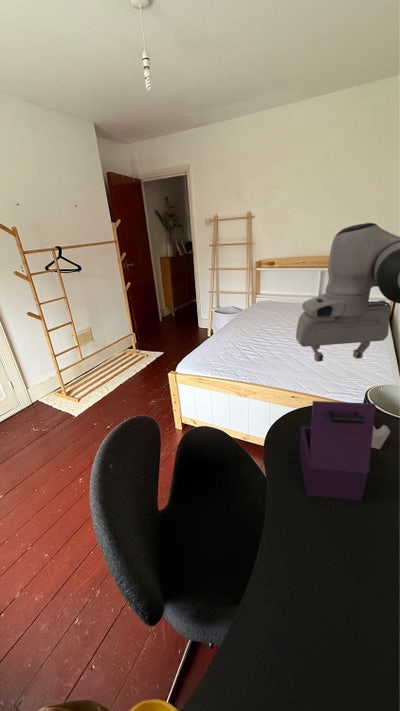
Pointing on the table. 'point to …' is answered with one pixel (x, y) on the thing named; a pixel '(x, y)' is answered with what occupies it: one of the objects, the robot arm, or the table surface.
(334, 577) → the table surface
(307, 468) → the box
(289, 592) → the table surface
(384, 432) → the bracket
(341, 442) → the lid
